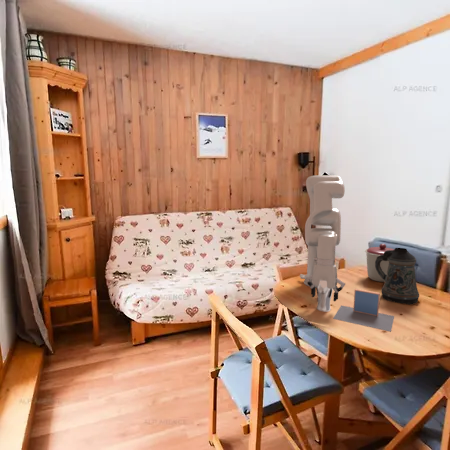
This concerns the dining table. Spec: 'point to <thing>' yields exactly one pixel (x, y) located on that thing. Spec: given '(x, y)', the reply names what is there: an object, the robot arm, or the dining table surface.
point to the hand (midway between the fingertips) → (324, 298)
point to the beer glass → (323, 296)
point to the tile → (366, 302)
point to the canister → (371, 258)
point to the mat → (365, 318)
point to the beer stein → (398, 276)
